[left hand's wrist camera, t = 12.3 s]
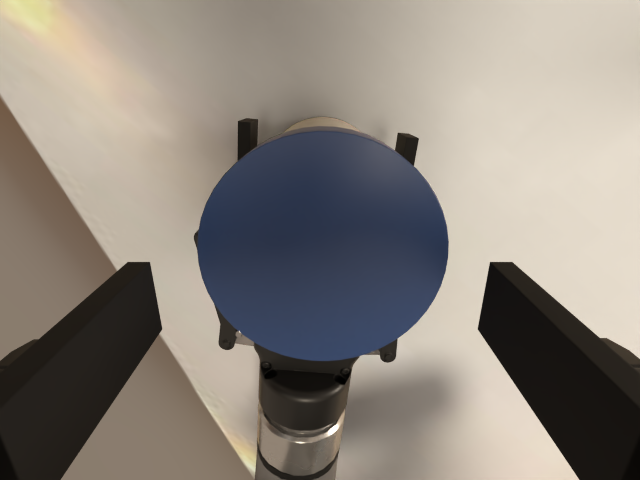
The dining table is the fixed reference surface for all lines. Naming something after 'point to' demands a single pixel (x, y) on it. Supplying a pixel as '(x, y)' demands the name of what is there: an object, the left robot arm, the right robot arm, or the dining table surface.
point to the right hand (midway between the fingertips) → (328, 127)
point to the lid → (322, 244)
